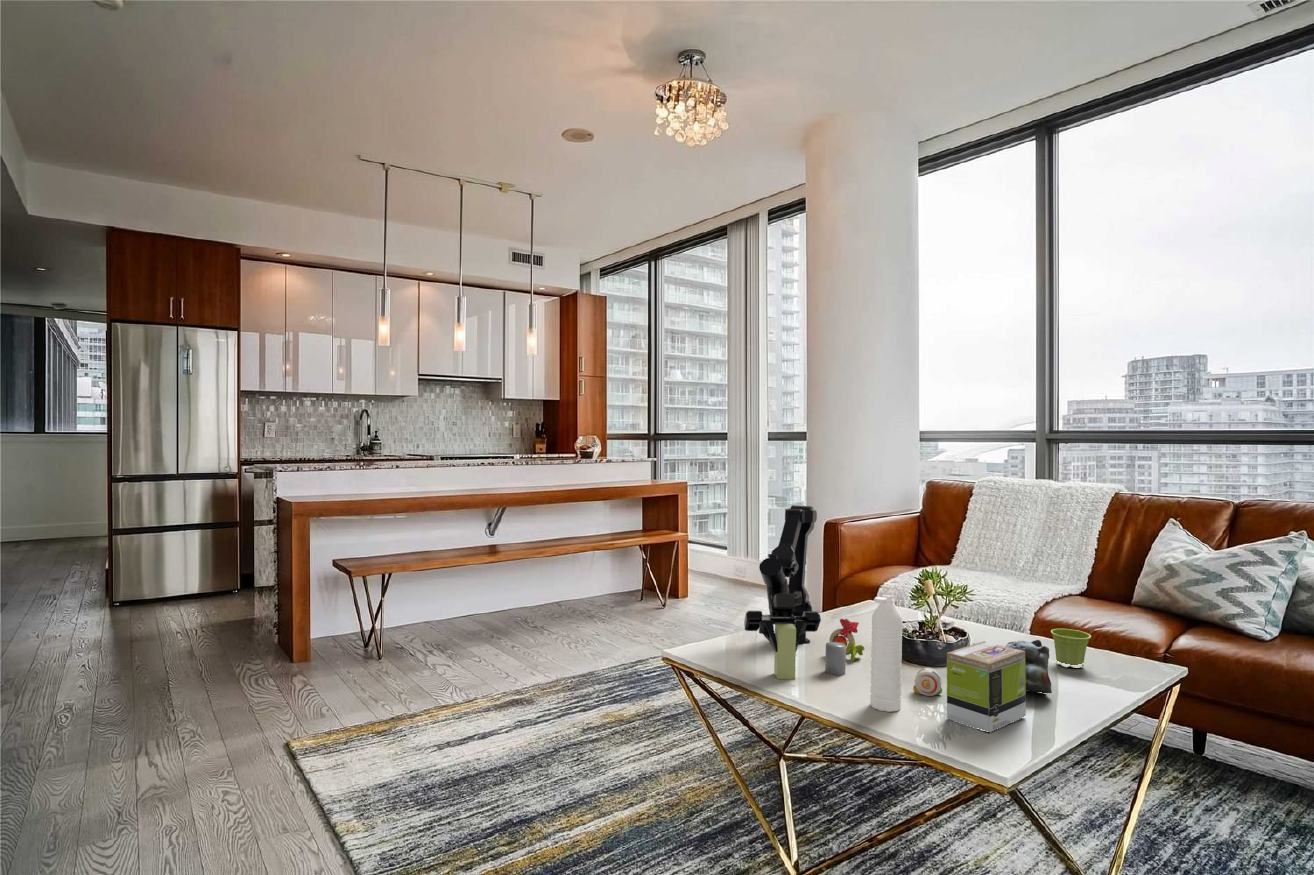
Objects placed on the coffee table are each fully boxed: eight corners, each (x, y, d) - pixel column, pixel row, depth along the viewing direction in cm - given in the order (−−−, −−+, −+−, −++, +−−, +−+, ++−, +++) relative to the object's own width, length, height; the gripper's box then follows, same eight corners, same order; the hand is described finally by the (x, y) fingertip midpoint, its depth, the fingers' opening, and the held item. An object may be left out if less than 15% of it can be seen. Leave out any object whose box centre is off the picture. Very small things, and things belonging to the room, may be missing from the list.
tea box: (982, 704, 170) (984, 639, 169) (1026, 719, 161) (1028, 650, 161) (944, 719, 161) (946, 650, 160) (989, 735, 152) (990, 662, 152)
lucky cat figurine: (974, 688, 180) (976, 630, 186) (1006, 701, 185) (1007, 645, 191) (1032, 687, 168) (1032, 626, 174) (1065, 702, 173) (1064, 642, 179)
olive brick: (774, 673, 189) (775, 623, 189) (791, 673, 189) (792, 623, 189) (777, 678, 185) (778, 628, 185) (795, 679, 185) (796, 628, 185)
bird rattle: (832, 667, 202) (863, 659, 197) (817, 626, 204) (847, 617, 199) (841, 661, 207) (871, 653, 202) (826, 622, 209) (855, 613, 205)
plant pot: (1098, 669, 197) (1099, 636, 197) (1072, 673, 193) (1073, 639, 193) (1067, 658, 206) (1068, 627, 205) (1041, 662, 202) (1042, 630, 202)
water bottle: (876, 699, 172) (878, 590, 171) (904, 706, 168) (907, 594, 167) (862, 710, 165) (864, 597, 164) (891, 717, 161) (893, 601, 160)
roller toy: (941, 699, 172) (941, 674, 172) (912, 695, 175) (912, 670, 175) (942, 693, 176) (943, 669, 176) (914, 689, 179) (914, 665, 179)
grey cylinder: (822, 669, 193) (822, 642, 192) (840, 668, 194) (840, 641, 193) (830, 676, 188) (830, 648, 188) (848, 675, 189) (849, 647, 189)
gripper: (746, 579, 190) (752, 634, 179) (819, 580, 191) (829, 635, 180) (741, 602, 198) (747, 657, 187) (812, 603, 199) (821, 657, 188)
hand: (786, 651), depth 185 cm, fingers closed on olive brick, 4 cm apart
